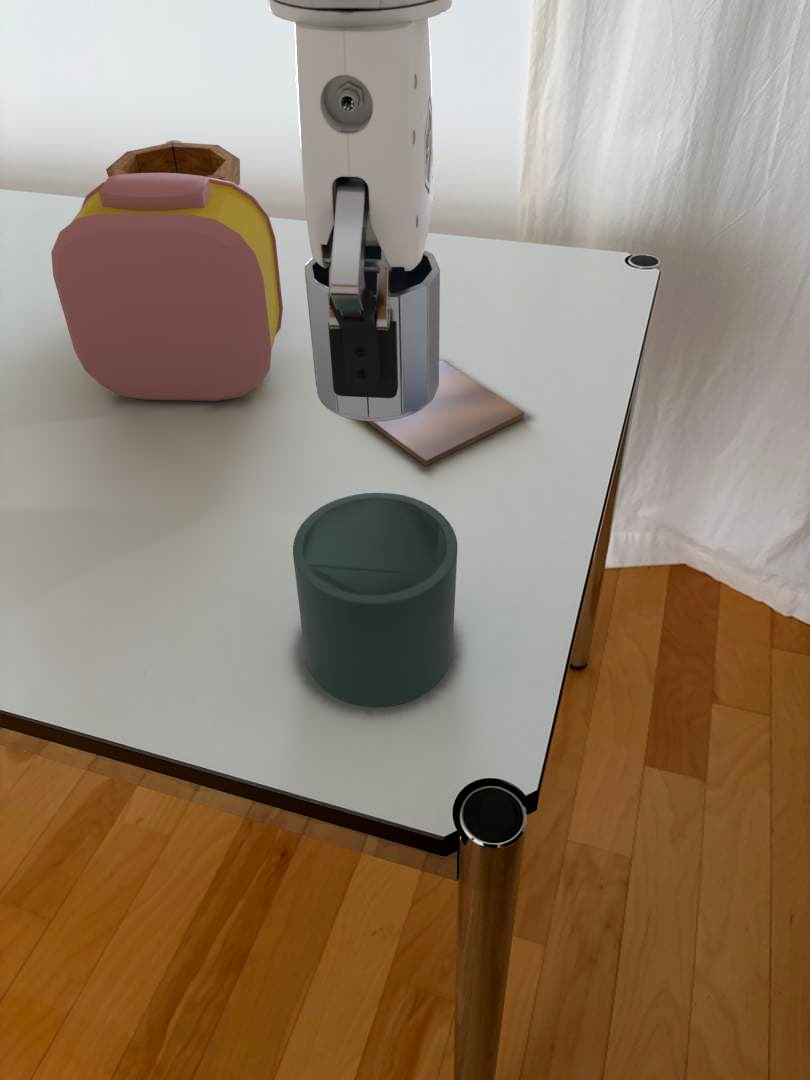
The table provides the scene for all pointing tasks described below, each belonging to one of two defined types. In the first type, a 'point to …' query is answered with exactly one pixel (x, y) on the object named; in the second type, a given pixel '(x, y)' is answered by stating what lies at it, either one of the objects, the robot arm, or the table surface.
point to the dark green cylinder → (376, 597)
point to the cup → (415, 339)
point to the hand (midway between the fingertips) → (375, 352)
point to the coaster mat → (450, 418)
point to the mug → (180, 161)
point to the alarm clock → (170, 287)
